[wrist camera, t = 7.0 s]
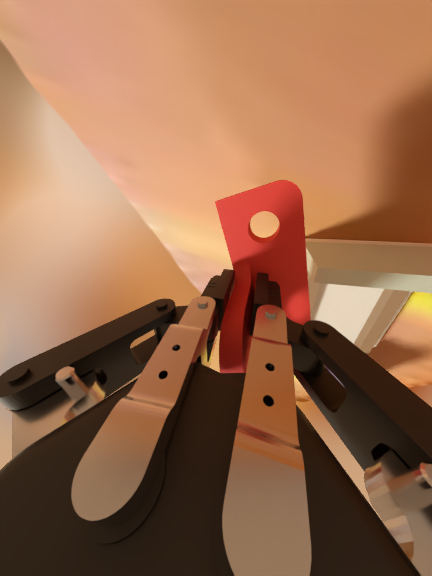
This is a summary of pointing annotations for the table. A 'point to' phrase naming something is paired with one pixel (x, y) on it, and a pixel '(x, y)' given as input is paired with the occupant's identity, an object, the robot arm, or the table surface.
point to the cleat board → (364, 284)
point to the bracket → (262, 264)
